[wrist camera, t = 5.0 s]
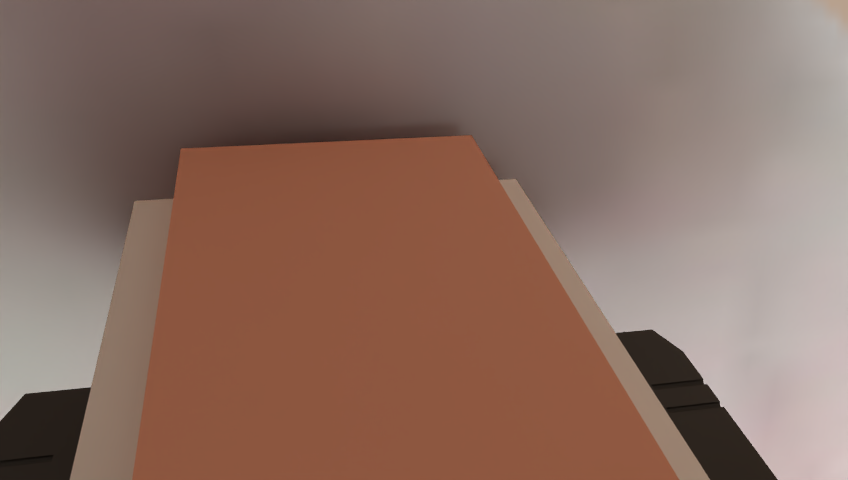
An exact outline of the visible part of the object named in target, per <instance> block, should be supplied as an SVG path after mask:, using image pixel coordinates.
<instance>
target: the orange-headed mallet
mask: <svg viewBox="0 0 848 480" xmlns="http://www.w3.org/2000/svg"><path fill="white" fill-rule="evenodd" d="M132 480H679V478H678V477H677V475H676V473H675V472H674V470H673V468H672V467H671V465H670V463H669V462H668V460H667V459H666V457H665V455H664V454H663V452H662V450H661V449H660V447H659V445H658V444H657V442H656V440H655V439H654V437H653V435H652V434H651V432H650V430H649V429H648V427H647V425H646V424H645V422H644V420H643V419H642V417H641V415H640V414H639V412H638V410H637V409H636V407H635V405H634V404H633V402H632V400H631V399H630V397H629V396H628V394H627V392H626V391H625V389H624V387H623V386H622V384H621V382H620V381H619V379H618V377H617V376H616V374H615V372H614V371H613V369H612V367H611V366H610V364H609V362H608V361H607V359H606V357H605V356H604V354H603V352H602V351H601V349H600V347H599V346H598V344H597V342H596V341H595V339H594V337H593V336H592V334H591V333H590V331H589V329H588V328H587V326H586V324H585V323H584V321H583V319H582V318H581V316H580V314H579V313H578V311H577V309H576V308H575V306H574V304H573V303H572V301H571V299H570V298H569V296H568V294H567V293H566V291H565V289H564V288H563V286H562V284H561V283H560V281H559V279H558V278H557V276H556V274H555V273H554V271H553V270H552V268H551V266H550V265H549V263H548V261H547V260H546V258H545V256H544V255H543V253H542V251H541V250H540V248H539V246H538V245H537V243H536V241H535V240H534V238H533V236H532V235H531V233H530V231H529V230H528V228H527V226H526V225H525V223H524V221H523V220H522V218H521V216H520V215H519V213H518V211H517V210H516V208H515V207H514V205H513V203H512V202H511V200H510V198H509V197H508V195H507V193H506V192H505V190H504V188H503V187H502V185H501V183H500V182H499V180H498V178H497V177H496V175H495V173H494V172H493V170H492V168H491V167H490V165H489V163H488V162H487V160H486V158H485V157H484V155H483V153H482V152H481V150H480V148H479V147H478V145H477V143H476V142H475V140H474V139H473V137H472V135H464V136H443V137H421V138H399V139H377V140H356V141H334V142H312V143H290V144H269V145H247V146H225V147H203V148H182V149H181V151H180V158H179V165H178V171H177V178H176V185H175V192H174V199H173V205H172V212H171V219H170V226H169V232H168V239H167V246H166V253H165V260H164V266H163V273H162V280H161V287H160V294H159V300H158V307H157V314H156V321H155V328H154V334H153V341H152V348H151V355H150V362H149V368H148V375H147V382H146V389H145V396H144V402H143V409H142V416H141V423H140V430H139V436H138V443H137V450H136V457H135V464H134V470H133V477H132Z"/></svg>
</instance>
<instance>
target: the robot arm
mask: <svg viewBox="0 0 848 480" xmlns="http://www.w3.org/2000/svg"><path fill="white" fill-rule="evenodd" d="M499 182H500V183H501V185H502V187H503V188H504V190H505V192H506V193H507V195H508V197H509V198H510V200H511V202H512V203H513V205H514V207H515V208H516V210H517V211H518V213H519V215H520V216H521V218H522V220H523V221H524V223H525V225H526V226H527V228H528V230H529V231H530V233H531V235H532V236H533V238H534V240H535V241H536V243H537V245H538V246H539V248H540V250H541V251H542V253H543V255H544V256H545V258H546V260H547V261H548V263H549V265H550V266H551V268H552V270H553V271H554V273H555V274H556V276H557V278H558V279H559V281H560V283H561V284H562V286H563V288H564V289H565V291H566V293H567V294H568V296H569V298H570V299H571V301H572V303H573V304H574V306H575V308H576V309H577V311H578V313H579V314H580V316H581V318H582V319H583V321H584V323H585V324H586V326H587V328H588V329H589V331H590V333H591V334H592V336H593V337H594V339H595V341H596V342H597V344H598V346H599V347H600V349H601V351H602V352H603V354H604V356H605V357H606V359H607V361H608V362H609V364H610V366H611V367H612V369H613V371H614V372H615V374H616V376H617V377H618V379H619V381H620V382H621V384H622V386H623V387H624V389H625V391H626V392H627V394H628V396H629V397H630V399H631V400H632V402H633V404H634V405H635V407H636V409H637V410H638V412H639V414H640V415H641V417H642V419H643V420H644V422H645V424H646V425H647V427H648V429H649V430H650V432H651V434H652V435H653V437H654V439H655V440H656V442H657V444H658V445H659V447H660V449H661V450H662V452H663V454H664V455H665V457H666V459H667V460H668V462H669V463H670V465H671V467H672V468H673V470H674V472H675V473H676V475H677V477H678V478H679V480H777V478H776V477H775V476H774V474H773V473H772V471H771V470H770V469H769V467H768V466H767V465H766V463H765V462H764V461H763V459H762V458H761V457H760V455H759V454H758V452H757V451H756V450H755V448H754V447H753V446H752V444H751V443H750V442H749V440H748V439H747V438H746V436H745V435H744V434H743V432H742V431H741V429H740V428H739V427H738V425H737V424H736V423H735V421H734V420H733V419H732V417H731V416H730V415H729V413H728V412H727V411H726V409H725V408H724V407H720V401H719V400H718V398H717V397H716V396H715V394H714V393H713V392H712V390H711V389H710V388H709V386H708V385H707V384H705V385H704V383H703V378H702V377H701V375H700V374H699V373H698V371H697V370H696V369H695V367H694V366H693V365H692V363H691V362H690V360H689V359H688V358H687V356H686V355H685V354H684V352H683V351H681V350H680V349H679V348H677V347H676V346H674V345H673V344H672V343H670V342H669V341H667V340H666V339H665V338H663V337H662V336H660V335H659V334H657V333H656V332H655V331H653V330H643V331H633V332H623V333H615V332H614V330H613V329H612V327H611V326H610V324H609V322H608V321H607V319H606V318H605V316H604V315H603V313H602V312H601V310H600V308H599V307H598V305H597V304H596V302H595V301H594V299H593V298H592V296H591V295H590V293H589V291H588V290H587V288H586V287H585V285H584V284H583V282H582V281H581V279H580V278H579V276H578V274H577V273H576V271H575V270H574V268H573V267H572V265H571V264H570V262H569V261H568V259H567V257H566V256H565V254H564V253H563V251H562V250H561V248H560V247H559V245H558V243H557V242H556V240H555V239H554V237H553V236H552V234H551V233H550V231H549V230H548V228H547V226H546V225H545V223H544V222H543V220H542V219H541V217H540V216H539V214H538V213H537V211H536V209H535V208H534V206H533V205H532V203H531V202H530V200H529V199H528V197H527V196H526V194H525V192H524V191H523V189H522V188H521V186H520V185H519V183H518V182H517V180H516V179H504V180H499ZM172 205H173V199H158V200H141V201H134V206H133V210H132V214H131V218H130V223H129V227H128V231H127V236H126V240H125V244H124V248H123V253H122V257H121V261H120V266H119V270H118V274H117V279H116V283H115V287H114V291H113V296H112V300H111V304H110V309H109V313H108V317H107V322H106V326H105V330H104V334H103V339H102V343H101V347H100V352H99V356H98V360H97V364H96V369H95V373H94V377H93V382H92V386H91V387H90V388H80V389H70V390H60V391H50V392H40V393H30V394H25V395H24V396H23V397H22V398H21V399H20V400H19V401H18V402H17V404H16V405H15V406H14V407H13V408H12V409H11V410H10V411H9V412H8V414H7V415H6V416H5V417H4V418H3V419H2V420H1V421H0V480H132V477H133V470H134V464H135V457H136V450H137V443H138V436H139V430H140V423H141V416H142V409H143V402H144V396H145V389H146V382H147V375H148V368H149V362H150V355H151V348H152V341H153V334H154V328H155V321H156V314H157V307H158V300H159V294H160V287H161V280H162V273H163V266H164V260H165V253H166V246H167V239H168V232H169V226H170V219H171V212H172Z"/></svg>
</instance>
